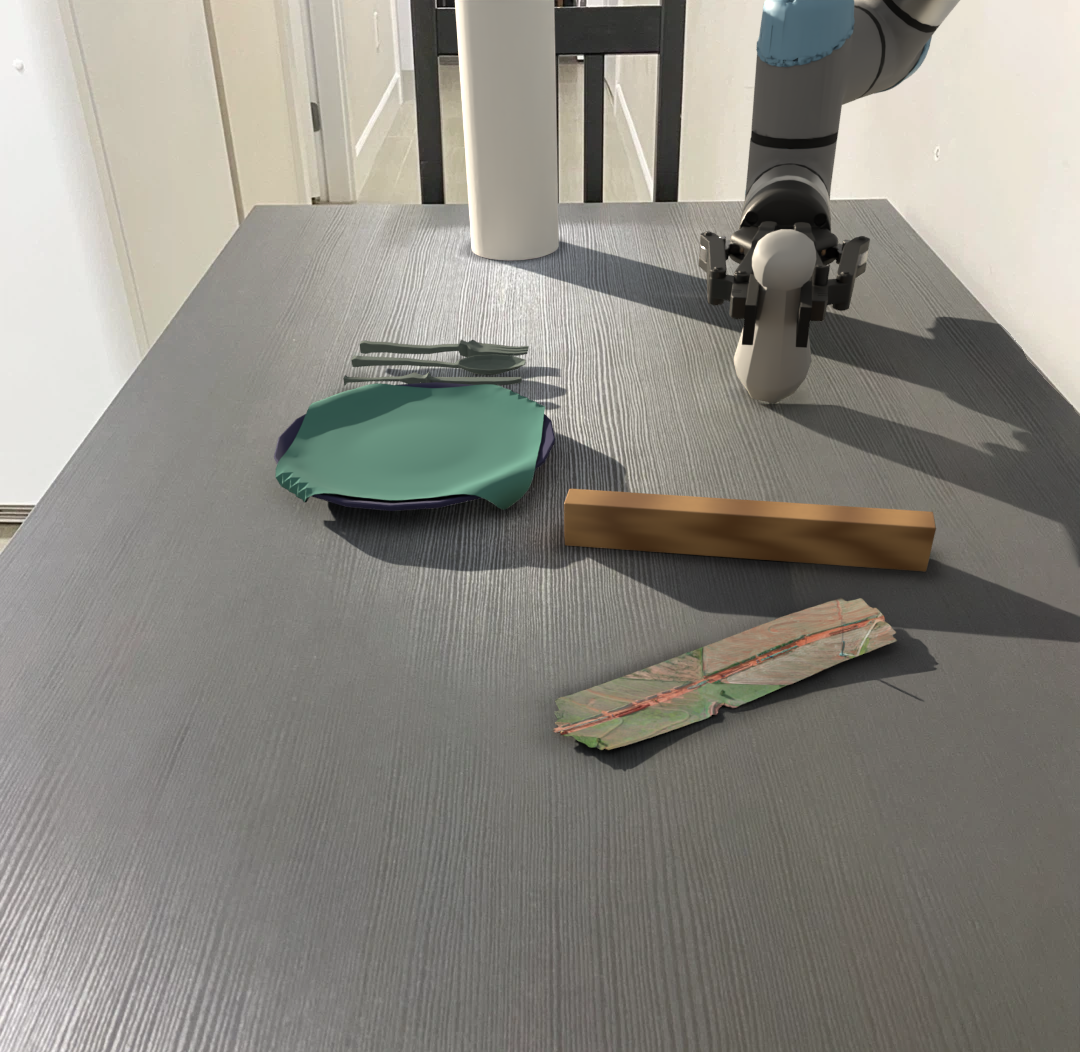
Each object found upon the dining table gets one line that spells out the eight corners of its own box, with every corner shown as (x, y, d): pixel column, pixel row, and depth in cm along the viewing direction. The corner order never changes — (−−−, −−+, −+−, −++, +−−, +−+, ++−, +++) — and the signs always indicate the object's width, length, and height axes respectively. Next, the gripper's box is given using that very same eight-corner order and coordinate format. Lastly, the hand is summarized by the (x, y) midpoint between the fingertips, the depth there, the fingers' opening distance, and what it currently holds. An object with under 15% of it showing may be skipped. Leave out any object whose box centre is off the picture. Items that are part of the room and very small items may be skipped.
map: (533, 717, 56) (532, 703, 56) (848, 592, 63) (850, 578, 62) (581, 775, 53) (580, 760, 52) (909, 636, 59) (912, 622, 59)
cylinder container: (481, 264, 113) (458, -97, 94) (464, 238, 120) (440, -101, 101) (568, 254, 115) (563, -102, 95) (547, 230, 122) (538, -107, 102)
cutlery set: (244, 530, 71) (236, 499, 70) (342, 356, 94) (338, 329, 93) (546, 534, 70) (545, 502, 68) (571, 356, 93) (570, 329, 91)
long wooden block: (923, 554, 67) (933, 511, 65) (926, 572, 65) (936, 528, 63) (569, 530, 70) (569, 488, 68) (564, 545, 69) (563, 503, 67)
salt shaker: (727, 361, 87) (736, 220, 75) (799, 351, 87) (819, 208, 75) (739, 416, 84) (750, 278, 73) (813, 406, 84) (837, 267, 72)
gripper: (875, 275, 93) (888, 385, 75) (686, 269, 95) (656, 374, 78) (891, 179, 88) (909, 273, 70) (691, 176, 90) (660, 265, 73)
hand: (776, 326), depth 74 cm, fingers closed on salt shaker, 3 cm apart
